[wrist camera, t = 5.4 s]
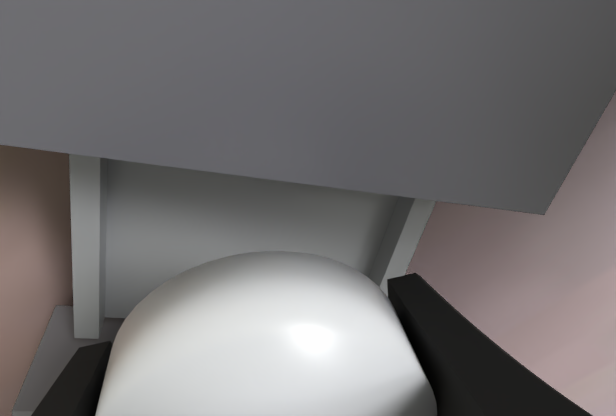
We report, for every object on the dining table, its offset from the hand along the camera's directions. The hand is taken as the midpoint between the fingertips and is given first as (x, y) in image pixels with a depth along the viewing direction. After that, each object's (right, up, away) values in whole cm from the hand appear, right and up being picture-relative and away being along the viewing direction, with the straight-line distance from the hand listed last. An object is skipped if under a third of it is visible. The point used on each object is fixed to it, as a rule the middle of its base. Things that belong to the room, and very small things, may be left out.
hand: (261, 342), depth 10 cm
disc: (0, 0, -1) cm, 1 cm away
